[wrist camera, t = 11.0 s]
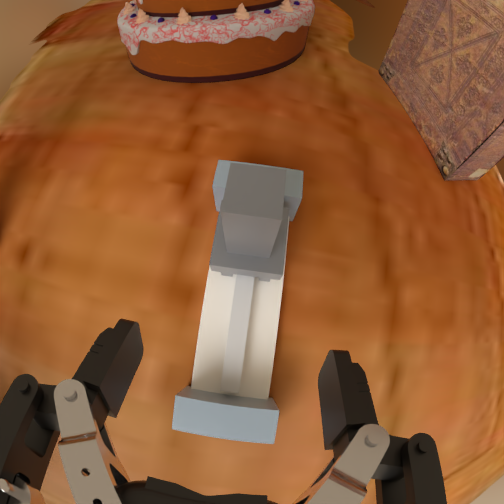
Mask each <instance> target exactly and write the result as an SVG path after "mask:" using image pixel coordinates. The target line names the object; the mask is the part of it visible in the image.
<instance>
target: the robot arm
mask: <svg viewBox="0 0 504 504" xmlns="http://www.w3.org/2000/svg"><path fill="white" fill-rule="evenodd" d="M142 356H143V343H142V338H141V333H140V328H139V324H138V323H137V322H134V321H130V320H126V319H120V320H119V321H118V323H117V324H116V326H115V327H114V329H113V328H107V329H106V330H105V331H103V332H102V333H101V334H100V335H99V336H98V338H97V339H96V341H95V342H94V345H92V347H91V349H90V352H88V353H87V355H86V357H85V358H84V360H83V362H82V363H81V365H80V366H79V368H78V370H77V371H76V373H75V375H74V376H73V378H72V379H67V380H64V381H62V382H60V383H59V384H58V385H57V386H56V385H45V384H39V383H38V382H37V380H36V379H35V377H33V376H32V375H29V374H22V375H20V376H18V377H17V378H16V379H15V380H14V381H13V383H12V385H11V386H10V388H9V390H8V392H7V393H6V395H5V397H4V399H3V401H2V402H1V404H0V504H45V502H44V498H43V496H42V494H41V493H40V489H41V486H42V482H43V479H44V476H45V473H46V470H47V467H48V464H49V461H50V459H51V456H52V453H53V450H54V448H55V445H56V442H57V440H58V437H59V435H60V432H61V438H62V440H61V441H59V443H58V447H59V452H60V456H61V460H62V463H63V467H64V470H65V473H66V477H67V480H68V483H69V486H70V489H71V492H72V494H73V497H74V500H75V502H76V504H278V503H275V502H272V501H269V500H267V496H266V495H249V494H228V495H215V496H205V495H201V494H199V493H197V492H194V491H192V490H189V489H187V488H185V487H183V486H180V485H178V484H176V483H172V482H168V481H164V480H160V479H156V478H153V477H149V476H148V478H147V481H144V480H143V481H132V482H131V481H130V479H129V477H128V475H127V473H126V471H125V469H124V467H123V465H122V464H121V462H120V460H119V458H118V456H117V453H116V451H115V448H114V446H113V443H112V440H111V438H110V435H109V432H108V429H107V426H106V423H105V420H106V418H107V416H108V415H109V416H112V417H114V418H116V417H117V415H118V412H119V410H120V407H121V405H122V403H123V400H124V398H125V396H126V393H127V391H128V389H129V386H130V384H131V382H132V379H133V377H134V375H135V373H136V370H137V368H138V366H139V364H140V362H141V359H142ZM367 383H368V382H367V378H366V374H365V372H364V370H363V369H362V368H361V366H360V365H359V364H358V363H352V361H351V357H350V354H349V352H348V351H344V350H330V351H329V353H328V355H327V357H326V359H325V362H324V364H323V366H322V368H321V370H320V373H319V377H318V389H319V398H320V407H321V416H322V426H323V436H324V447H325V450H331V449H333V452H334V456H333V457H332V458H331V460H330V461H329V462H328V464H327V465H326V466H325V468H324V469H323V470H322V472H321V473H320V474H319V475H318V477H317V478H316V479H315V480H314V481H313V483H312V484H311V485H310V486H309V487H308V489H307V490H306V491H305V492H304V493H302V494H301V495H300V496H299V497H298V498H297V500H296V501H295V502H294V503H293V504H360V503H361V502H362V500H363V499H364V497H365V495H366V493H367V489H366V486H367V484H368V482H369V481H370V479H371V478H372V479H375V484H376V499H377V504H447V501H446V494H445V487H444V482H443V476H442V471H441V466H440V461H439V456H438V452H437V447H436V444H435V441H434V440H433V438H432V437H431V436H429V435H428V434H425V433H418V434H415V435H414V436H412V437H411V438H410V439H407V438H401V437H396V436H391V435H389V434H388V432H387V431H386V430H385V429H384V428H383V427H381V426H379V424H378V421H377V417H376V413H375V409H374V405H373V401H372V397H371V393H370V389H369V385H368V384H367Z"/></svg>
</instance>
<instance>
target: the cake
mask: <svg viewBox="0 0 504 504" xmlns="http://www.w3.org/2000/svg"><path fill="white" fill-rule="evenodd" d="M314 11H315V5H314V2H313V0H133V1H132V2H130V3H128V2H126V5H125V7H124V8H123V9H122V11H121V12H120V13H119V15H118V18H117V22H118V27H119V31H120V35H121V40H122V42H123V43H124V44H125V46H126V49H127V53H128V56H129V59H130V62H131V64H132V65H133V67H134V68H135V69H136V70H137V71H139V72H140V73H142V74H144V75H146V76H149V77H151V78H155V79H159V80H164V81H172V82H187V83H201V82H219V81H230V80H236V79H244V78H249V77H253V76H258V75H262V74H266V73H269V72H272V71H275V70H278V69H280V68H283V67H285V66H287V65H289V64H290V63H292V62H294V61H295V60H296V59H297V58H298V57H299V56H301V54H302V52H303V51H304V48H305V44H306V39H307V34H308V30H309V26H310V25H311V21H312V18H313V16H314Z"/></svg>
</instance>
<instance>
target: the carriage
mask: <svg viewBox="0 0 504 504" xmlns="http://www.w3.org/2000/svg"><path fill="white" fill-rule="evenodd" d="M286 171H287V170H284V169H278V168H271V167H264V166H256V165H248V164H239V163H231V164H230V168H229V173H228V178H227V183H226V187H225V192H224V197H223V200H222V201H221V206H220V211H219V216H218V221H217V226H216V231H215V236H214V242H213V247H212V252H211V258H210V264H209V265H210V268H211V270H212V271H216V272H221V275H223V276H230V277H233V274H237V275H244V276H252V277H259V281H266V282H270V279H274V280H280V279H281V277H282V276H283V270H284V260H285V250H286V240H287V229H288V218H289V209H288V208H283V204H284V193H285V182H286Z"/></svg>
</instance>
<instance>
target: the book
mask: <svg viewBox="0 0 504 504" xmlns="http://www.w3.org/2000/svg"><path fill="white" fill-rule="evenodd" d="M379 74H380V75H381V77H382V78H383V79H384V81H385V82H386V83H387V85H388V86H389V87H390V89H391V90H392V91H393V93H394V94H395V96H396V97H397V99H398V100H399V101H400V103H401V104H402V106H403V107H404V109H405V110H406V112H407V113H408V115H409V117H410V118H411V120H412V121H413V123H414V125H415V126H416V128H417V130H418V131H419V133H420V135H421V136H422V138H423V140H424V142H425V143H426V145H427V147H428V149H429V151H430V153H431V154H432V156H433V158H434V160H435V162H436V164H437V166H438V168H439V170H440V172H441V174H442V176H443V178H444V180H478V179H480V178H481V177H482V176H483V175H484V174H485V173H487V172H488V171H489V170H490V169H491V168H492V167H493V166H495V165H496V164H497V163H498V162H499V161H500V160H501V159H502V158H503V157H504V0H408V1H407V4H406V6H405V9H404V12H403V14H402V16H401V19H400V21H399V24H398V27H397V29H396V31H395V34H394V36H393V39H392V41H391V43H390V46H389V48H388V50H387V53H386V55H385V57H384V60H383V62H382V64H381V66H380V69H379Z"/></svg>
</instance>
